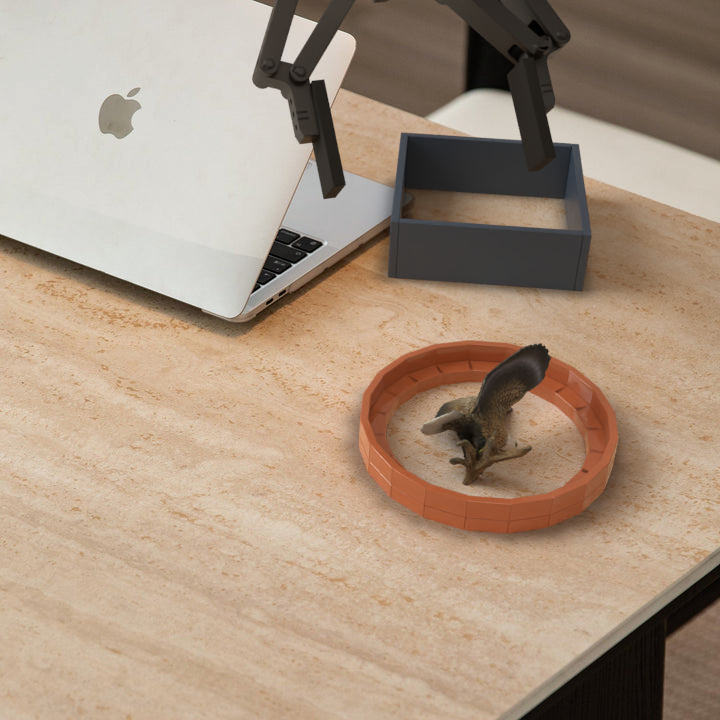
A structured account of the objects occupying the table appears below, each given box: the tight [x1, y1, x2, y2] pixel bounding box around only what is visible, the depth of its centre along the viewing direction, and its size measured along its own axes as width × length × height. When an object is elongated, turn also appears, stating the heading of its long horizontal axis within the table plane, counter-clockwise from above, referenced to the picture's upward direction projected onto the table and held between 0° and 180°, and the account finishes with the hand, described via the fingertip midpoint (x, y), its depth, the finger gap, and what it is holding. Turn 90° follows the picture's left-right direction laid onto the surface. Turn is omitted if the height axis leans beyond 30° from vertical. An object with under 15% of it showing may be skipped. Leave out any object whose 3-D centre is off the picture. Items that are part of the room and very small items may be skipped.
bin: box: [387, 132, 593, 292], centre depth 95 cm, size 14×14×6 cm
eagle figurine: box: [419, 342, 552, 487], centre depth 75 cm, size 8×7×9 cm
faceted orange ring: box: [358, 339, 620, 534], centre depth 76 cm, size 15×15×3 cm
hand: (441, 179), depth 76 cm, fingers open, 13 cm apart
